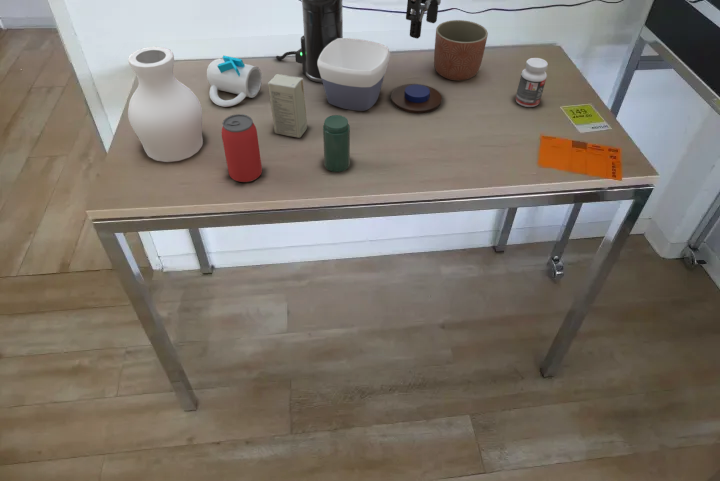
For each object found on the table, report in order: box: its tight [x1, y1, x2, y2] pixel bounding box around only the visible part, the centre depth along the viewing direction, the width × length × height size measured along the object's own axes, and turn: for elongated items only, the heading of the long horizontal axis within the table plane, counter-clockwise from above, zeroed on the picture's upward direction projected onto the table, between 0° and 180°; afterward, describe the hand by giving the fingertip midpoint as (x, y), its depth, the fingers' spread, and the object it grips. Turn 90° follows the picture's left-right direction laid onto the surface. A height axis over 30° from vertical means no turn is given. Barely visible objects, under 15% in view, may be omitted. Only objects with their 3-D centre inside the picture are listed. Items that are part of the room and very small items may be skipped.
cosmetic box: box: [267, 73, 308, 139], centre depth 119 cm, size 6×4×12 cm
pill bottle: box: [515, 57, 548, 108], centre depth 130 cm, size 6×6×10 cm
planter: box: [433, 19, 489, 81], centre depth 139 cm, size 12×12×11 cm
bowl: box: [317, 37, 391, 112], centre depth 129 cm, size 15×15×11 cm
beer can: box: [221, 113, 263, 183], centre depth 108 cm, size 7×7×12 cm
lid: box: [404, 83, 430, 103], centre depth 132 cm, size 6×6×2 cm
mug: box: [206, 55, 263, 108], centre depth 130 cm, size 12×9×12 cm
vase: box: [127, 46, 204, 163], centre depth 112 cm, size 14×14×20 cm
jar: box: [322, 114, 351, 173], centre depth 111 cm, size 5×5×10 cm
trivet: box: [390, 83, 443, 114], centre depth 133 cm, size 12×12×1 cm
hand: (423, 29), depth 121 cm, fingers open, 8 cm apart
